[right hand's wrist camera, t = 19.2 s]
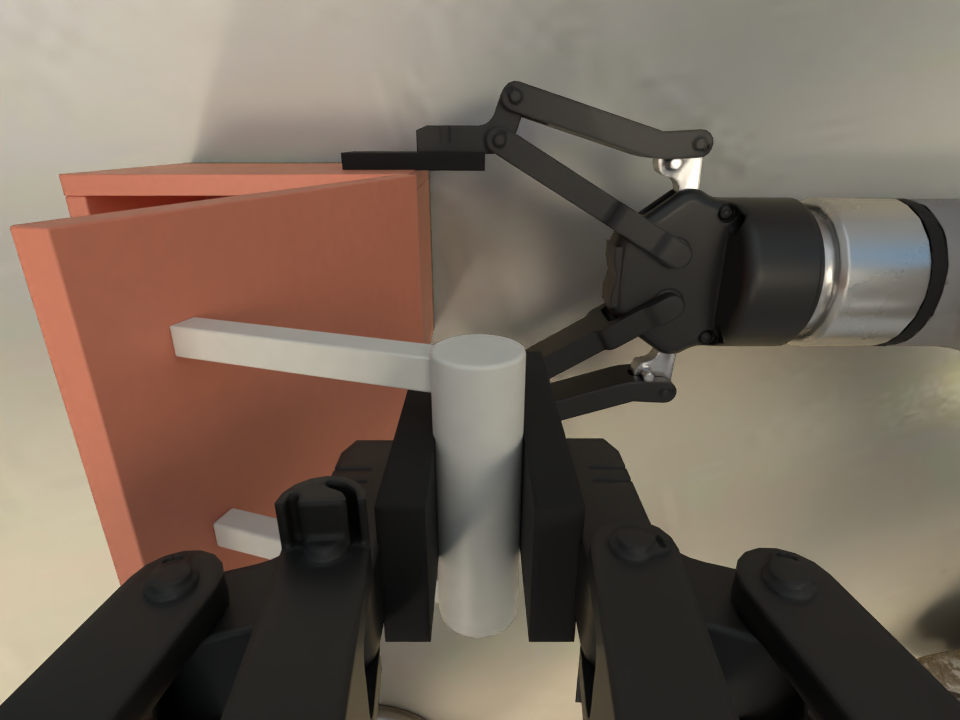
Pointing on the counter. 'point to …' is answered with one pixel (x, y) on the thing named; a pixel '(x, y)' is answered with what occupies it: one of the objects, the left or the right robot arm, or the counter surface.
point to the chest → (233, 179)
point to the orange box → (272, 375)
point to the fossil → (945, 669)
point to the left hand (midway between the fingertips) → (357, 273)
